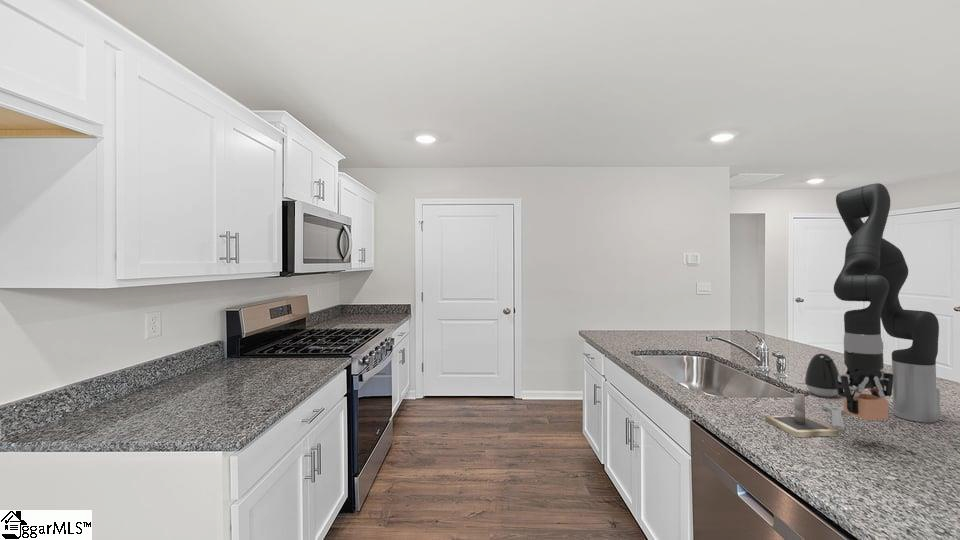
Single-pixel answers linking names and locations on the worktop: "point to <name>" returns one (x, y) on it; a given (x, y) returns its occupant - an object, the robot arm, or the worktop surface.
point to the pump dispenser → (822, 376)
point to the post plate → (802, 432)
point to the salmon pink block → (869, 407)
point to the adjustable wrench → (836, 416)
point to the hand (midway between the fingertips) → (865, 412)
